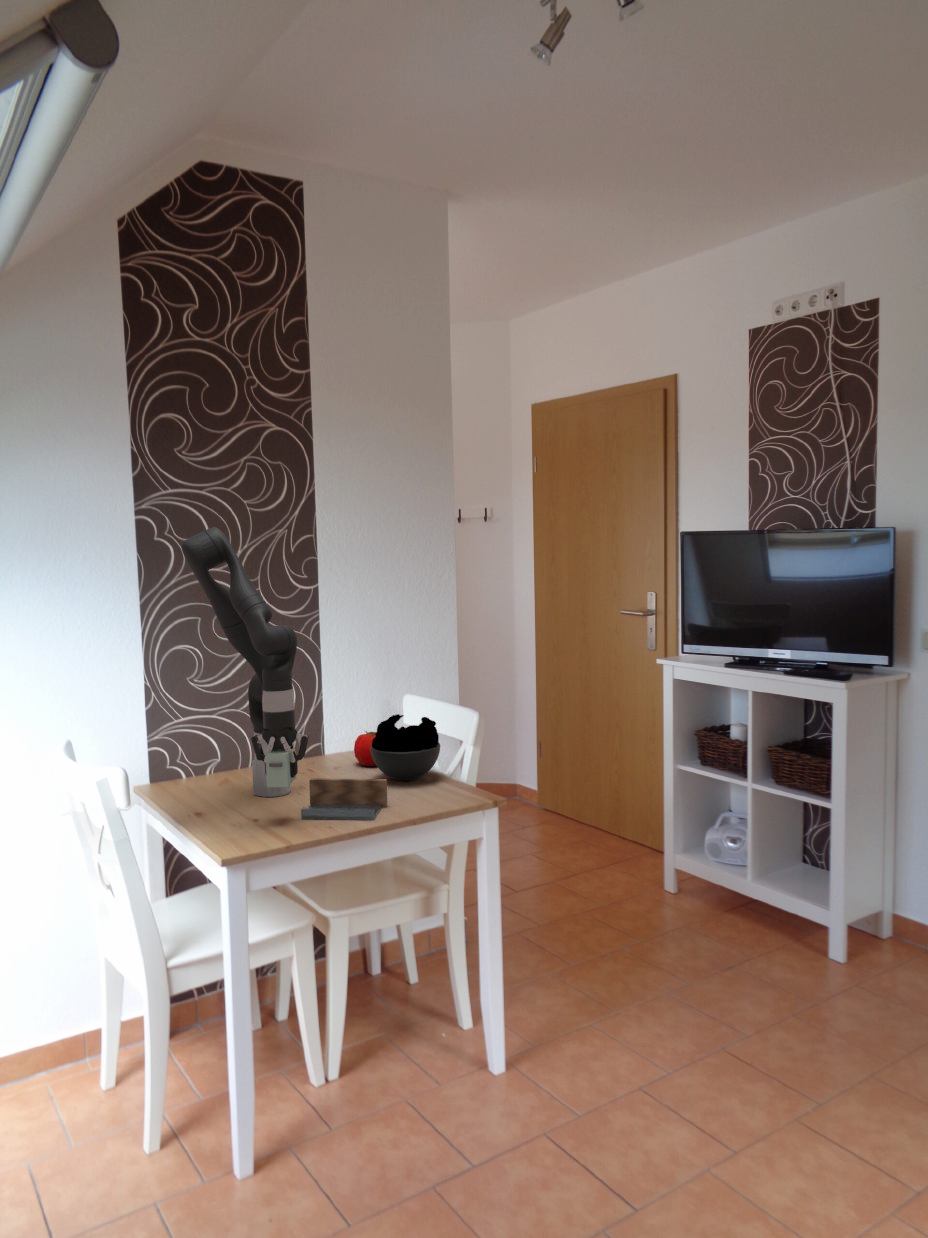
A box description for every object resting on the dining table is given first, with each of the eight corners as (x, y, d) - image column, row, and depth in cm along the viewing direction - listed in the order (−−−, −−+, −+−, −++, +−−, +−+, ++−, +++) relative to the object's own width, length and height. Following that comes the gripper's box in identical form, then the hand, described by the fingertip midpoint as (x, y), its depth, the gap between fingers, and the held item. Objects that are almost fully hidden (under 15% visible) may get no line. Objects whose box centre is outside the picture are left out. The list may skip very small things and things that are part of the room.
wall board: (310, 806, 234) (309, 779, 233) (311, 805, 235) (310, 778, 235) (386, 807, 231) (385, 780, 231) (387, 806, 233) (386, 779, 232)
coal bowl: (358, 778, 262) (356, 714, 260) (416, 768, 273) (414, 706, 272) (395, 792, 246) (393, 724, 244) (454, 780, 257) (453, 715, 256)
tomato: (358, 760, 285) (357, 727, 285) (394, 760, 284) (393, 727, 283) (350, 769, 274) (349, 735, 273) (387, 769, 272) (386, 735, 272)
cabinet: (266, 788, 216) (264, 755, 215) (276, 778, 224) (275, 746, 224) (286, 788, 215) (285, 755, 215) (296, 778, 224) (294, 746, 223)
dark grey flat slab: (301, 819, 223) (301, 809, 222) (313, 806, 234) (313, 797, 233) (373, 820, 221) (373, 810, 220) (382, 807, 231) (382, 798, 231)
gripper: (244, 711, 216) (248, 781, 217) (303, 710, 215) (306, 780, 216) (254, 705, 223) (257, 773, 225) (311, 704, 222) (314, 772, 223)
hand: (281, 776), depth 220 cm, fingers closed on cabinet, 5 cm apart
